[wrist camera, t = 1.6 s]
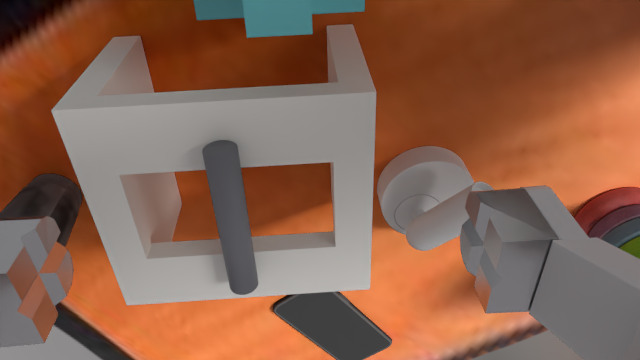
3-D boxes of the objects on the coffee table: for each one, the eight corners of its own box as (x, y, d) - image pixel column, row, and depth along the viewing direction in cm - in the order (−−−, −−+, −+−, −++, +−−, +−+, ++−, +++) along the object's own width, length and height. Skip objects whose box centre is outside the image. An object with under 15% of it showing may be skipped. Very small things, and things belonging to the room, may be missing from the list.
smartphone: (346, 368, 62) (268, 310, 55) (345, 362, 63) (268, 303, 55) (396, 344, 60) (321, 279, 52) (394, 337, 61) (321, 273, 53)
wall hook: (540, 225, 38) (456, 305, 42) (496, 158, 45) (430, 231, 50) (453, 182, 35) (374, 272, 40) (422, 118, 43) (359, 200, 47)
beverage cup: (-3, 164, 43) (-181, 369, 26) (81, 156, 43) (-45, 356, 26) (32, 228, 47) (-102, 439, 31) (109, 220, 47) (14, 427, 31)
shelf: (352, 24, 37) (382, 108, 26) (352, 193, 47) (373, 310, 35) (113, 36, 37) (36, 128, 26) (160, 205, 46) (119, 327, 35)
